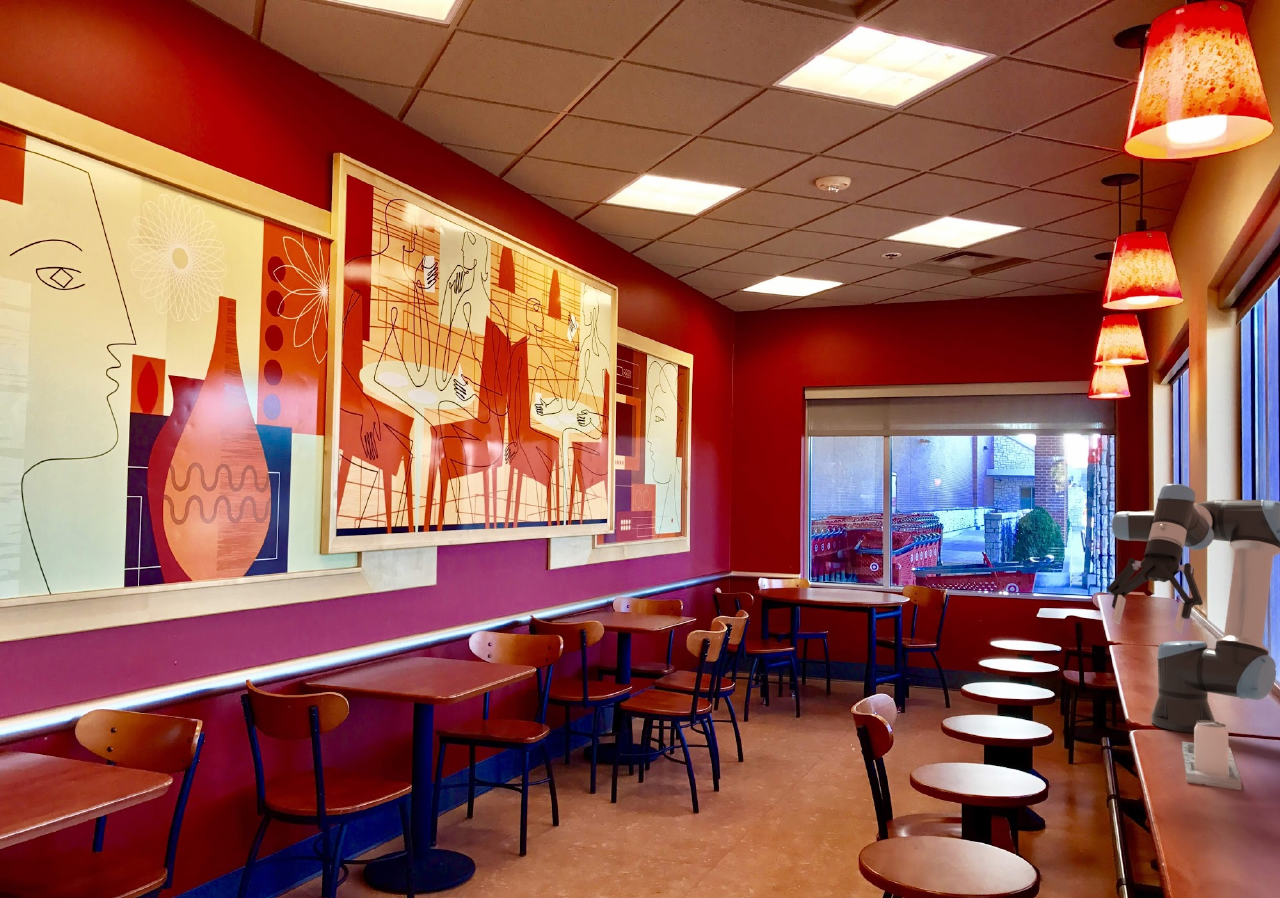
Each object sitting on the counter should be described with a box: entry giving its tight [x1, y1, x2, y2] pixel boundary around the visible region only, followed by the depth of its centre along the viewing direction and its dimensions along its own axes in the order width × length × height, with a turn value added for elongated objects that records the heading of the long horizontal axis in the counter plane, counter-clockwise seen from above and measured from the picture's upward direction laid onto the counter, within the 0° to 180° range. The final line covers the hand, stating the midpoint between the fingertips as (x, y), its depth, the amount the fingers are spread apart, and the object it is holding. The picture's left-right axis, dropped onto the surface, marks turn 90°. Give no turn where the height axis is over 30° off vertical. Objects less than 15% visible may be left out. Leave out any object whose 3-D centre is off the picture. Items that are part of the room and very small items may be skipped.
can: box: [1193, 720, 1230, 775], centre depth 202 cm, size 6×6×12 cm
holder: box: [1181, 741, 1242, 791], centre depth 209 cm, size 30×10×2 cm, turn 151°
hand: (1146, 626), depth 210 cm, fingers open, 13 cm apart
